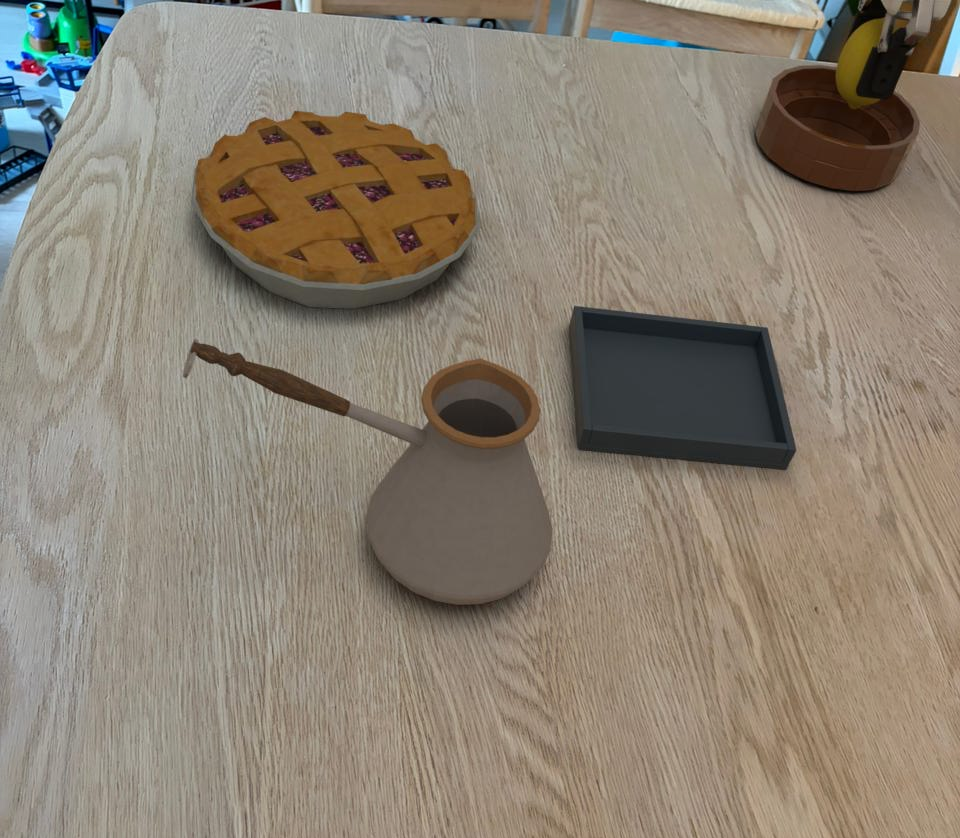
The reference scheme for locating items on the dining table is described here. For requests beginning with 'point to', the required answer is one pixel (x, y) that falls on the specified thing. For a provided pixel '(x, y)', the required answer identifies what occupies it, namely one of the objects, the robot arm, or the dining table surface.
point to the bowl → (834, 131)
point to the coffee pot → (445, 479)
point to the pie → (335, 208)
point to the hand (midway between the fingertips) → (865, 76)
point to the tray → (678, 389)
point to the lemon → (857, 61)
